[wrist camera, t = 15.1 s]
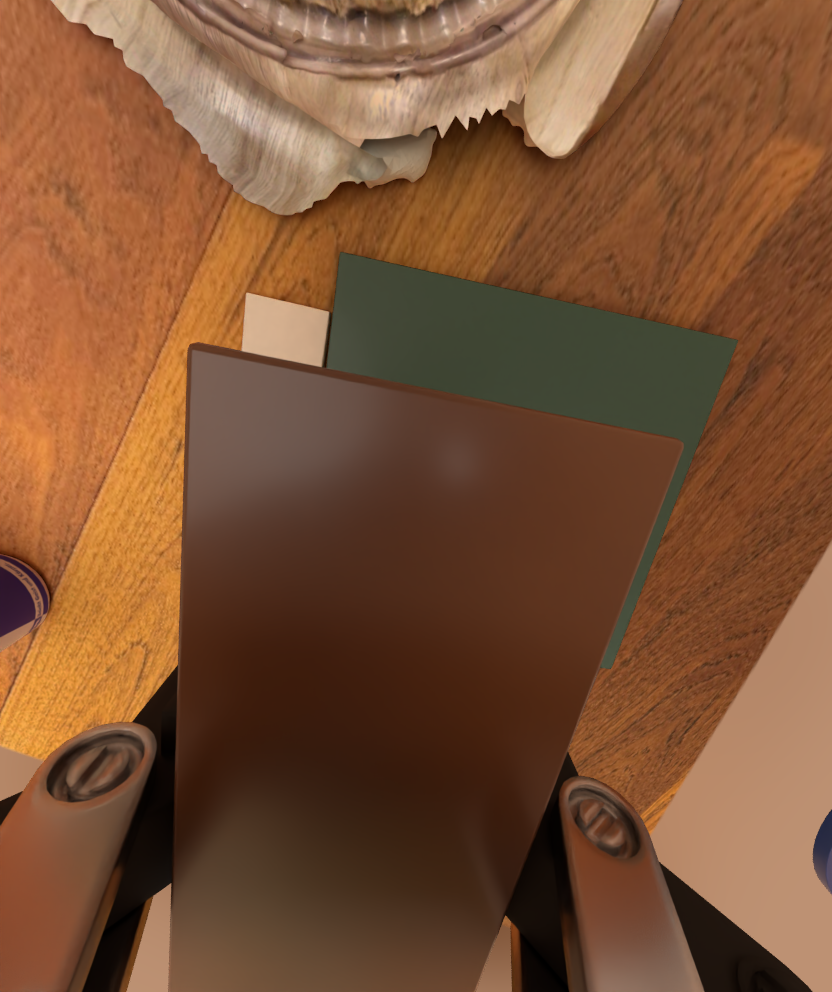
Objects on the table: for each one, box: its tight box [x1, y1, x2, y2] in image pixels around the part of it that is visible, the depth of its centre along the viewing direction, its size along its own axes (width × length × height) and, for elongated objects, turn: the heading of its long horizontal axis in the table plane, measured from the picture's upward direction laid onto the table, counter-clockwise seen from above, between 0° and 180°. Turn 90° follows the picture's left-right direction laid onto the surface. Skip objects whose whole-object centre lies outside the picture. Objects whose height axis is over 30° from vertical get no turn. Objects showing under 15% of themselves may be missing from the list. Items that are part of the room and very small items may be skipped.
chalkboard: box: [326, 252, 738, 669], centre depth 22 cm, size 20×20×1 cm
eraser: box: [168, 342, 684, 992], centre depth 8 cm, size 4×13×6 cm, turn 169°
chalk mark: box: [242, 293, 331, 367], centre depth 19 cm, size 4×4×1 cm
